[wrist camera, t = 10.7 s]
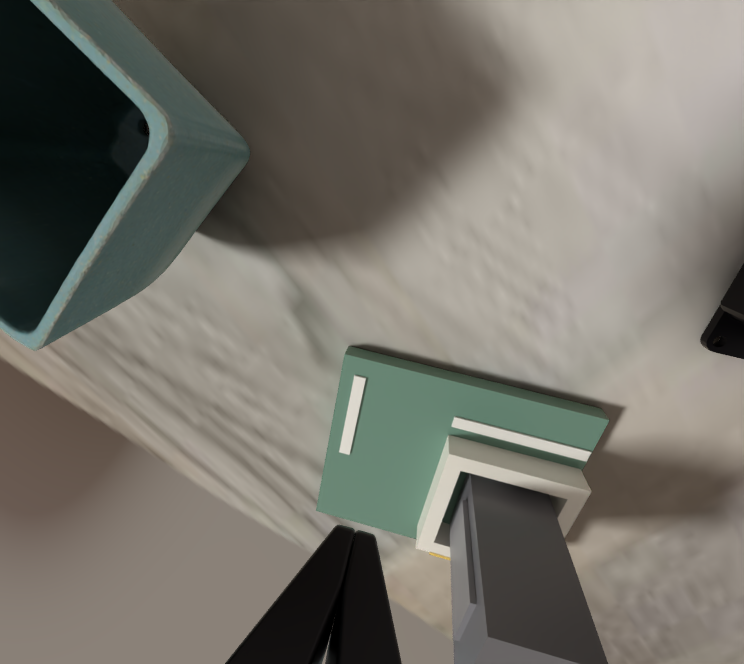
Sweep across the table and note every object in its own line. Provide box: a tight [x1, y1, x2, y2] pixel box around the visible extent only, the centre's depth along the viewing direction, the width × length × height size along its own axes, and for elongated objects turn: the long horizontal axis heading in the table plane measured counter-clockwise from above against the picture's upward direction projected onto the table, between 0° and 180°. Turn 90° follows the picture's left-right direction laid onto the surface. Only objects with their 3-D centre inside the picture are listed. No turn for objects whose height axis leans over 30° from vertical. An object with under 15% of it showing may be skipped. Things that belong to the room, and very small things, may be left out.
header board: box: [316, 346, 609, 560], centre depth 20 cm, size 13×11×2 cm
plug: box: [450, 473, 608, 664], centre depth 16 cm, size 4×4×9 cm
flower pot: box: [0, 0, 250, 351], centre depth 13 cm, size 9×9×9 cm
